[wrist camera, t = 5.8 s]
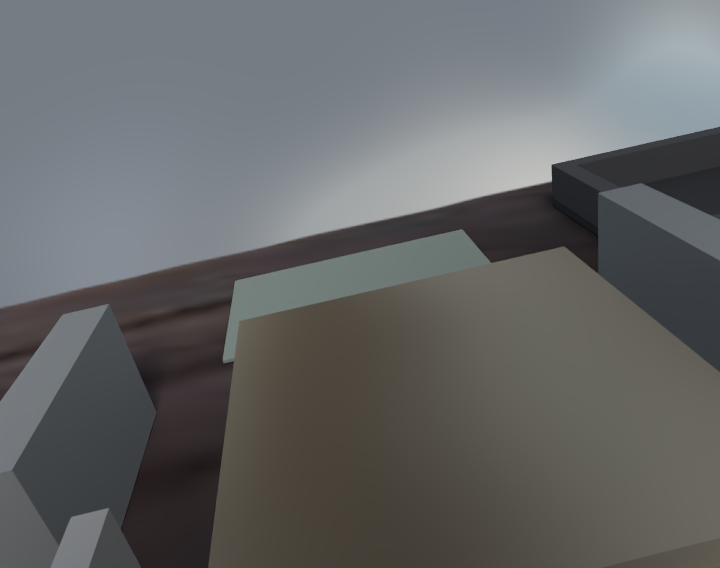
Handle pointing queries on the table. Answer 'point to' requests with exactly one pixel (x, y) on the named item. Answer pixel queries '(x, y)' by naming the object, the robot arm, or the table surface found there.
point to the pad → (348, 277)
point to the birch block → (470, 430)
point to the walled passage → (137, 413)
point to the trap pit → (643, 175)
